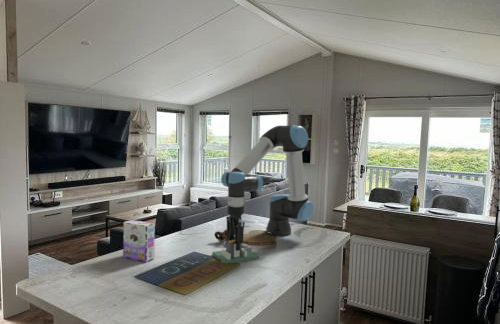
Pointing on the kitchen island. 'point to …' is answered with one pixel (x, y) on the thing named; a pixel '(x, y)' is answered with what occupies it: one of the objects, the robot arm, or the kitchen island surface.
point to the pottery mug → (222, 236)
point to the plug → (232, 247)
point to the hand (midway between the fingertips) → (233, 255)
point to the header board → (245, 255)
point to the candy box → (138, 240)
